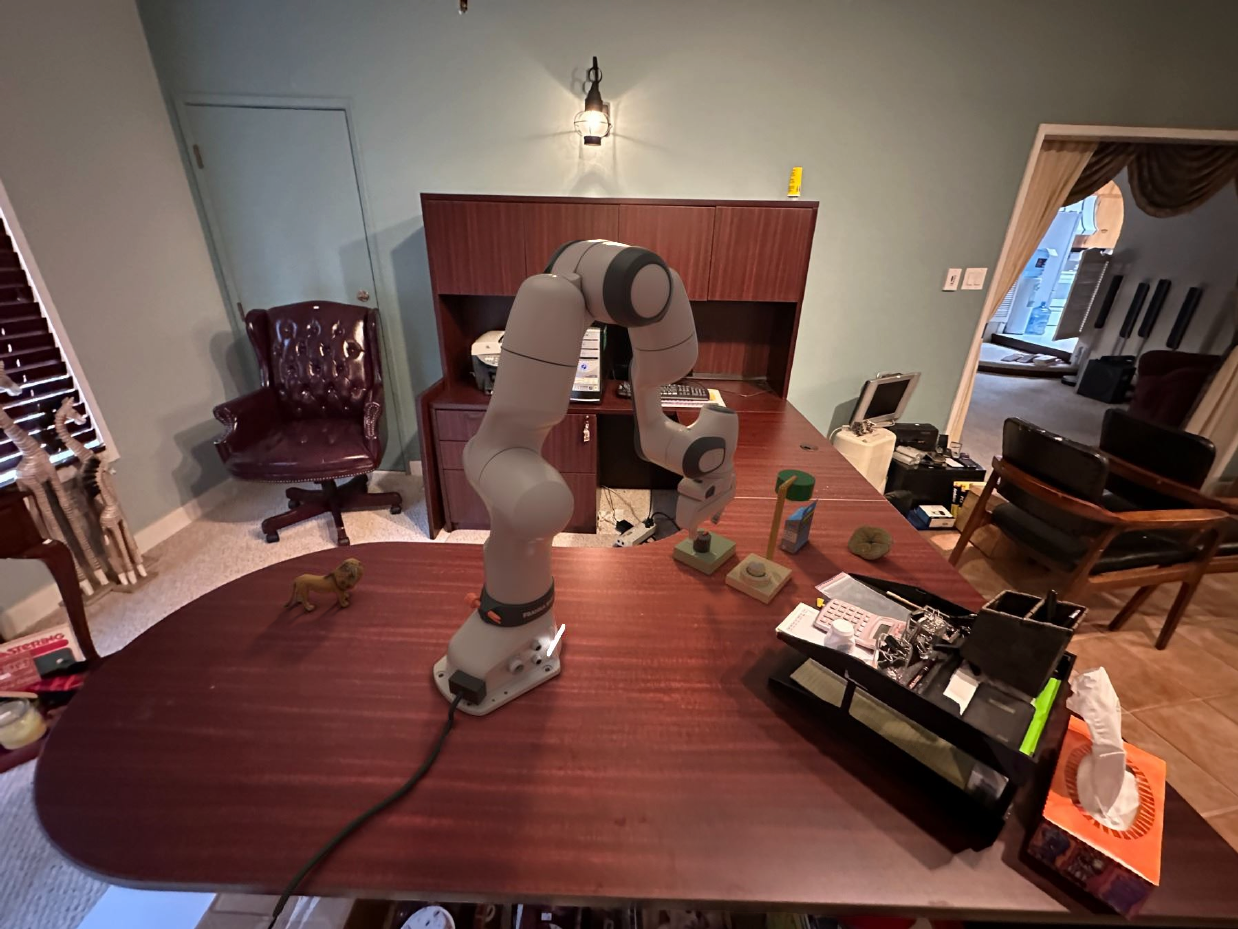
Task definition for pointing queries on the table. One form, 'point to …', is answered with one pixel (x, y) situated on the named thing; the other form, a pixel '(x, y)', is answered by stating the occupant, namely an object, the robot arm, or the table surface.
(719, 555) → the dimmer panel
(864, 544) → the fossil
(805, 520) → the blue box
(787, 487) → the lamp
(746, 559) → the lamp base
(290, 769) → the table surface
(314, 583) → the lion figurine
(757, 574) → the lamp button
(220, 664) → the table surface
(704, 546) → the dimmer knob
